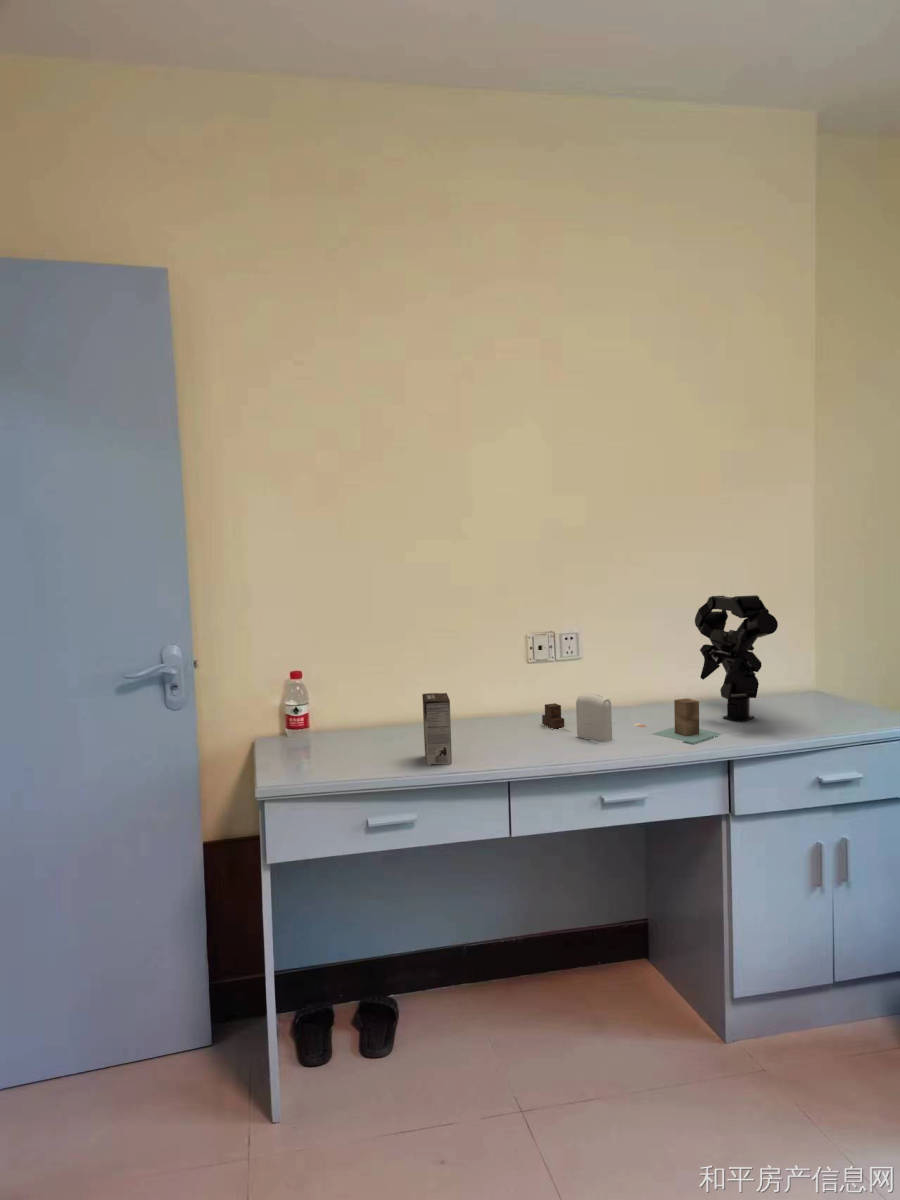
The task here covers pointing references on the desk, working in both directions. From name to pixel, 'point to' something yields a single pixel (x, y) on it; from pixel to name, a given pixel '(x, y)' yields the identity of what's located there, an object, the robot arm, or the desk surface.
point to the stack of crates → (553, 716)
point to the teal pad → (692, 739)
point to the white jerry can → (594, 717)
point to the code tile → (639, 725)
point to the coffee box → (437, 728)
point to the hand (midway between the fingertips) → (713, 681)
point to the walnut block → (686, 717)
